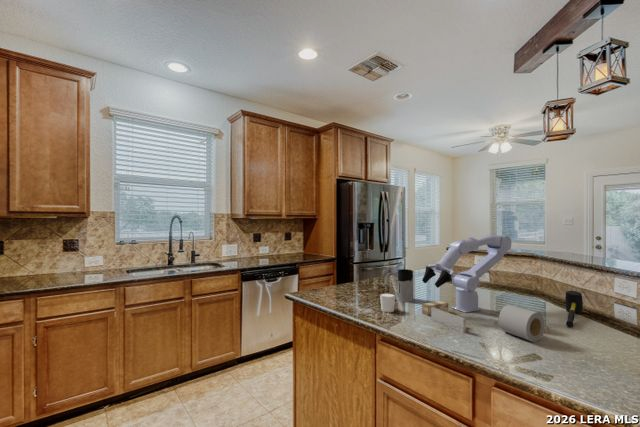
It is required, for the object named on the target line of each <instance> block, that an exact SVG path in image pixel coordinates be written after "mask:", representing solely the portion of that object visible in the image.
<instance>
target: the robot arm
mask: <svg viewBox="0 0 640 427" xmlns="http://www.w3.org/2000/svg"><path fill="white" fill-rule="evenodd" d="M482 246H486V252H487V254H486V255H485V256H484V257H483V258H481V259H480V260H479V261H478V262H477V263H476V264H474V265H472V267H470V268H469V270H468V269H467V270H465V271H460V272H459V273H457V274H456V272H455V271H454V270H452V268H453V267H455V265H456V263H457V262H458V261H459V260H460V258H461V257H462V255H463V256H465V255H467V254H468V253H469V252H472V251H477V250H478V249H479V247H482ZM511 248H512V238H511V237H510V236H509V235H495V234H494V235H493V234H489V235H488V234H487V235H485V236H482V237H480V238H475V237H472V236H471V237H470V236H469V237H468V238H467V239H460V241H457V240H456V241H453V242H450V243H449V247H448V249H447V251H446V253H445V254H444V255H443V257H442V258H440V260H439V261H438V262H435V264H430V263H429V264H428V265H427V266H426V267H425V271H424V274H423V277H422V280H421V281H422V282H423V284H426V283H428V282H429V280H431V279H432V278H433V277H435V276H437V274H436V273H437V272H438V273H440V275H439V277H438V279H436V281H435V282H434V285H435V287H436V288H440V287H441V286H443V285H445V284H446V283H448V282H451V284H452V285H453V287H454V290H455V306H451V309H455V310H457V311H459V312H463V313H470V312H471V313H472V312H476V311H480V310H481V309H480V308H479V295H478V292H477V291H476V289H477V287H478V286H479V285H480V284H481V282H480V278H481V277H483V276H484V275H485V274H486V273H487V272H488V271H489V270H491V268H493V267H495V266H496V264H498V263H499V262H500V261H501V260H502V259H503V257H504V256H505V254H506V253H507V252H508V251H510V250H511ZM435 272H436V273H435Z"/></svg>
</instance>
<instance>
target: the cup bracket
mask: <svg viewBox="0 0 640 427" xmlns="http://www.w3.org/2000/svg"><path fill="white" fill-rule="evenodd" d="M430 316H431V318H430V319H431V320H432V321H434V322H435V323H439V324H441V325H443V326H446V327H449V328H451V329H453V330H456V331H458V332H461V333H463V334H465V333H466V332H467V319H466V318H465V317H461V316H459V315H456V314H453V313H450V312H449V311H448V312H445V311H442V310H440V309H437V308H434V307H432V308H431V315H430Z"/></svg>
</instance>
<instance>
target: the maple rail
mask: <svg viewBox="0 0 640 427" xmlns="http://www.w3.org/2000/svg"><path fill="white" fill-rule="evenodd" d="M421 307H422V308H421V314H422V315H425V316H427V317H429V316H431V308H432V307H434V308H437V309H440V310H442V311H445V312H448V313H449V302H448V301H444V300H439V301H438V300H437V301H432V302H426V303H425V302H424V303H421Z"/></svg>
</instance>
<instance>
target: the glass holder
mask: <svg viewBox="0 0 640 427" xmlns="http://www.w3.org/2000/svg"><path fill="white" fill-rule="evenodd" d="M390 274H392V275H393V278H394V282H397V292H396V291H395V290H394V289H393V288H392V287H391V286H390V284H389V282H388V276H389V275H390ZM385 280H386V284H387V285H388V288H390V289H391V290H392V292H394V293H395V294H396V300H397V301H399V302H405V303H410V302H414V301H415V299H414V271H413V270H412V269H406V268H405V269H404V268H402V269H398V270H397V280H396V276H395V274H394V273H393V272H389V273H387V274H386V278H385Z"/></svg>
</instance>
